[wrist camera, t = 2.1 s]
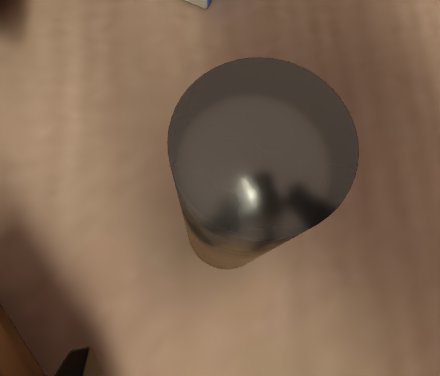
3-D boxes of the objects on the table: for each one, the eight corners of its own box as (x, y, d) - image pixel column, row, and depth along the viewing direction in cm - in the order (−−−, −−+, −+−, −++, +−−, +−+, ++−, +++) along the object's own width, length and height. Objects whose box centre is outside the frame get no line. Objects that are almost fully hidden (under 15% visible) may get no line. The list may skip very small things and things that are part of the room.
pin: (279, 237, 20) (398, 158, 8) (220, 285, 19) (251, 280, 7) (232, 179, 21) (274, 26, 9) (173, 223, 20) (128, 124, 8)
